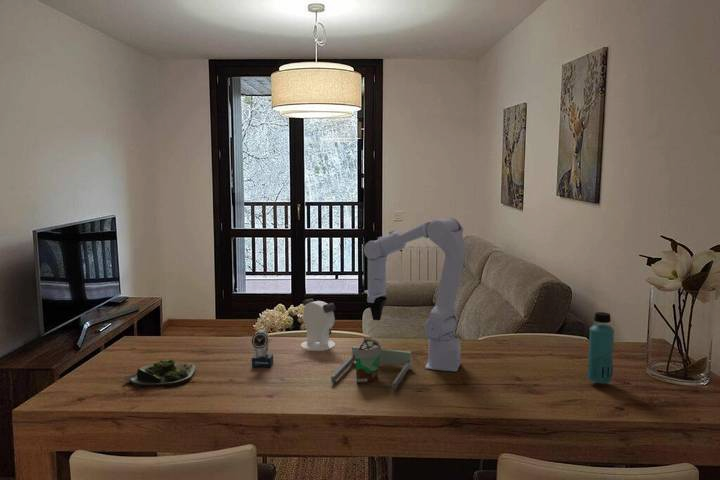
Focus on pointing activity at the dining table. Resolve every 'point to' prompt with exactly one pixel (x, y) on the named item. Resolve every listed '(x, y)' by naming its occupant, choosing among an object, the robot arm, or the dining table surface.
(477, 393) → the dining table surface
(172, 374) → the salad plate
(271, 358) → the watch
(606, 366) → the beverage bottle
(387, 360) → the grey u-shaped frame
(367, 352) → the food container
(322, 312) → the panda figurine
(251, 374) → the dining table surface
